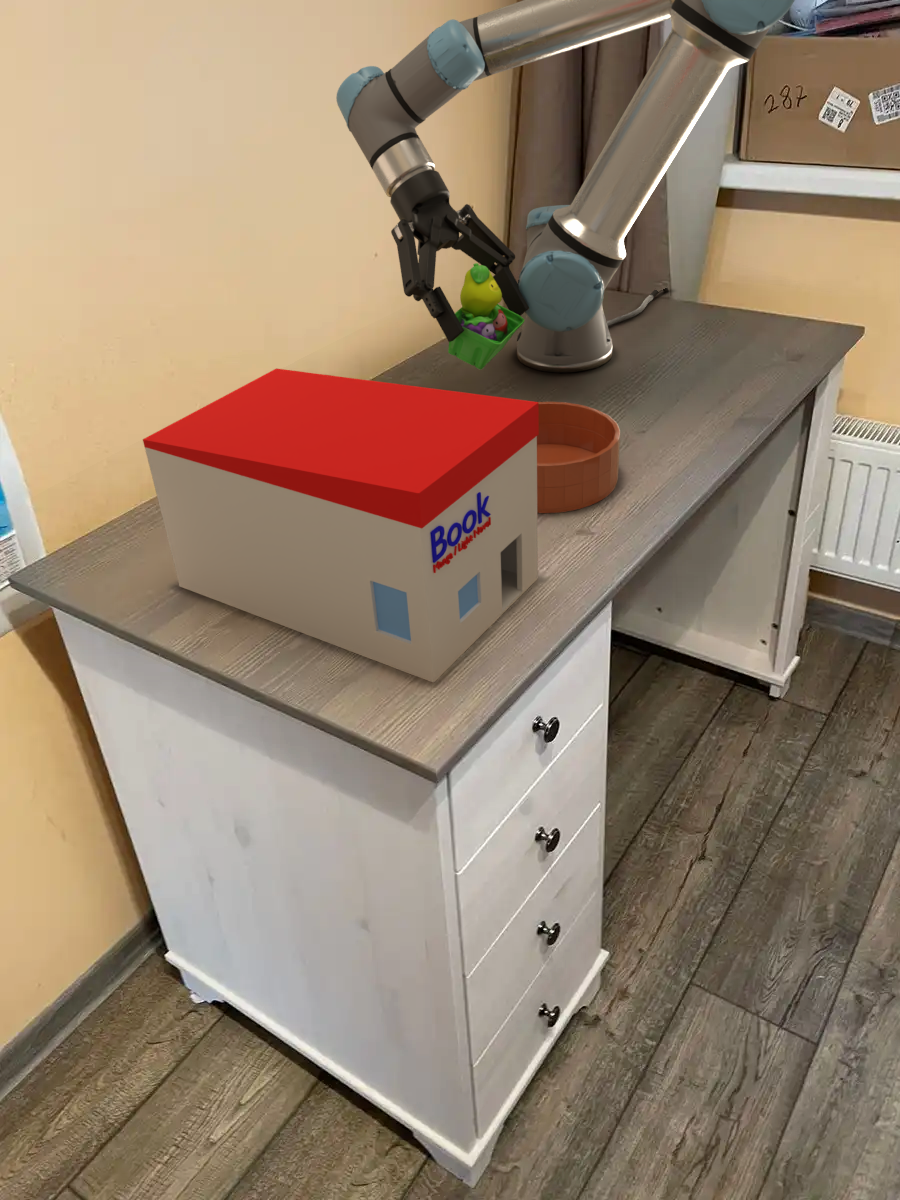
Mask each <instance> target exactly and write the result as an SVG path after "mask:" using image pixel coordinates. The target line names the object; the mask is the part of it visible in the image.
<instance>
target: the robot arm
mask: <svg viewBox="0 0 900 1200" xmlns="http://www.w3.org/2000/svg"><path fill="white" fill-rule="evenodd" d="M795 1H796V0H520V1H517V2H514V3H512V4H509V5H506V6H503V7H502V6H501V7H499V8H497V9H493V10H491V11H488V12H485V13H482V14H478V15H477V16H474V17H470V18H467V19H465V20H462V21H458V20H457V19H449V20H446V22H445V23H442V25H441V26H438V27H436V28H435V29H434V30H432V31H431V33H429V35H427V37H425V38H424V39H423V40H422V41H421V42H420V43H419V44H418V45H416V47H414V48H413V49H412V50H411V51H410V52H408V53H407V54H406V55H405V56H404V57H403V58H402V59H401V60H400V61H398V62H397V63H396V64H395V65H394V66H393V67H392V68H389V70H387V71H385V72H384V71H383V70H382V69H381V68H380V67H379V66H376V65H367V66H364V67H362V68H361V67H360V69H358V71H356V72H352V73H351V74H350V75H348V76H347V77H346V78H345V79H344V80H343V81H342V82H341V84H340V86H339V87H338V89H337V92H336V103H337V104H336V105H337V106H338V109H339V111H340V112H341V115H342V117H343V119H344V121H345V123H346V127H347V129H348V131H349V132H350V133H351V135H352V137H353V138H354V140H355V141H356V144H357V145H358V147H359V148H360V150H361V152H362V153H363V155H364V157H365V160H367V163H368V164H369V167H370V168H371V170H372V171H373V173H374V175H375V177H376V179H377V181H378V182H379V184H380V186H381V188H382V190H383V191H384V193H385V195H386V197H388V198H390V200H389V201H390V205H391V206H392V208H393V210H394V212H395V213H396V215H397V217H398V219H399V220H398V221H399V222H397V224H396V225H394V227H393V228H391V231H390V234H391V235H392V238H393V240H394V242H395V245H396V248H397V249H396V250H397V255H398V262H399V267H400V268H399V269H400V274H401V281H402V288H403V293H404V295H405V296H406V297H407V298H409V297H413V299H414V300H415V301H416V302H420V301H421V300H422V302H423V303H424V305H425V307H426V309H427V311H428V312H429V314H430V316H431V317H432V318H433V319H435V320H436V322H437V323H438V325H439V328H441V331H442V332H443V334H444V336H445V337H446V339H447V341H448V343H449V342H451V341H453V340H454V339H455V338H457V337H458V336H459V335H460V334H461V333H462V332H463V331H464V329H463V327H462V325H461V324H460V322H459V320H458V318H457V316H456V315H455V313H456V312H455V311H454V309H453V307H452V306H451V304H450V302H449V300H448V298H447V297H446V295H445V293H444V291H443V289H442V287H441V286H436V287H435V276H436V263H437V252H439V251H440V250H443V249H444V250H446V249H447V250H448V249H450V248H451V249H453V250H455V251H460V252H462V253H463V254H465V255H466V256H468V257H469V258H471V259H472V260H474V262H476V263H478V264H479V265H483V266H486V267H487V268H488V269H489V271H490V273H491V274H493V275H492V276H493V278H494V279H495V281H496V283H497V285H498V286H499V288H500V290H501V293H502V300H503V302H504V304H505V305H506V308H507V309H508V310H510V311H512V312H514V313H516V314H518V315H520V316H521V317H522V316H523V314H524V313H525V318H524V322H523V324H522V329H521V331H520V332H519V333H518V335H517V338H516V342H517V347H516V348H517V349H516V356H517V359H518V361H519V362H520V363H521V364H523V365H524V366H525V367H528V368H531V369H534V370H538V371H543V372H549V373H575V372H576V373H577V372H583V371H587V370H591V369H595V368H598V367H600V366H603V365H604V364H606V363H607V362H609V361H610V360H611V358H612V356H613V339H612V335H611V333H610V330H609V327H610V326H612V325H615V324H617V323H621V322H623V321H627V320H629V319H631V318H633V317H635V316H638V315H639V314H640V313H642V312H643V311H644V310H645V309H646V307H647V306H648V305H649V303H650V302H652V300H653V299H655V297H656V296H657V295H658V294H659V293H660V292H664V293H669V292H670V290H669V288H668V287H667V288H665V289H663V290H661V291H660V292H658V291H657V290H655V289H654V290H653V291H651V293H650V294H649V295H648V296H647V297H646V298H645V299H644V300H643V301H642V303H641V304H640V305H639V307H636V308H635V309H634V310H633V311H630V312H628V313H625V314H622V315H620V316H616V317H614V318H612V319H609V320H606V316H605V313H604V309H603V301H604V295H605V290H606V288H607V286H608V285H609V283H610V282H611V280H612V279H613V277H614V276H615V274H616V272H617V271H618V269H619V268H620V266H621V264H622V263H623V261H624V259H625V258H626V256H627V252H626V248H625V242H624V241H625V237H626V236H627V234H628V232H629V231H630V230H631V228H632V226H633V224H634V223H635V221H636V220H637V218H638V216H639V215H640V213H641V211H642V210H643V208H644V207H645V205H646V204H647V202H648V200H649V199H650V197H651V196H652V194H653V192H654V191H655V189H656V187H657V186H658V184H659V183H660V181H661V179H662V178H663V176H664V175H665V173H666V172H667V170H668V168H669V166H671V163H672V162H673V160H674V159H675V157H676V156H677V154H678V152H679V151H680V149H681V147H682V146H683V144H684V143H685V142H686V140H687V138H688V136H689V135H690V133H691V131H692V130H693V128H694V126H695V125H696V123H697V122H698V120H699V119H700V117H701V115H702V113H703V112H704V111H705V109H706V107H707V106H708V105H709V102H711V99H712V98H713V96H714V95H715V93H716V91H717V90H718V89H719V86H721V83H722V82H723V80H724V78H725V77H726V75H727V74H728V72H729V71H730V69H732V68H734V67H736V66H739V65H742V64H745V63H748V62H749V61H750V60H751V59H752V57H753V55H754V54H755V52H756V51H757V49H758V48H759V46H760V45H761V43H762V41H763V40H764V38H765V36H766V35H767V33H768V32H769V30H770V28H772V27H773V26H774V25H776V24H777V23H778V22H779V21H780V20H782V19H783V17H784V16H785V15H786V14H787V13H788V12H789V10H790V9H791V8H792V6H793V5H794V2H795ZM668 20H670V23H671V29H670V32H669V35H668V36H667V38H666V39H665V41H664V43H663V44H662V47H661V48H660V50H659V52H658V53H657V55H656V57H655V58H654V60H653V62H652V64H651V65H650V66H649V69H648V71H647V73H646V74H645V76H644V77H643V79H642V81H641V82H640V84H639V86H638V88H637V89H636V91H635V93H634V95H633V97H632V98H631V100H630V101H629V104H628V105H627V107H626V109H625V110H624V112H623V113H622V115H621V117H620V119H619V121H618V122H617V124H616V126H615V128H614V129H613V131H612V132H611V134H610V136H609V138H608V140H607V141H606V143H605V145H604V147H603V148H602V150H601V152H600V154H599V155H598V157H597V159H596V160H595V162H594V164H593V165H592V168H591V169H590V171H589V173H588V174H587V176H586V178H585V179H584V181H583V183H582V184H581V186H580V188H579V190H578V192H577V194H576V195H575V196H574V199H573V200H572V201H571V203H570V204H559V205H548V206H540V207H536V208H533V209H532V210H530V211H529V212H528V214H527V221H526V226H525V231H526V233H527V234H526V236H527V237H526V242H527V243H526V252H525V257H524V261H523V265H522V269H521V271H520V273H519V276H518V280H517V279H516V278H515V276H514V274H513V272H512V270H511V268H510V265H512V264H513V261H514V260H515V259H516V255H515V253H514V252H513V251H512V250H511V249H510V247H508V246H507V245H506V244H505V243H504V242H503V241H502V240H501V239H500V238H499V237H498V236H497V235H496V234H495V233H494V232H493V231H492V230H491V229H490V228H489V227H488V226H487V225H486V224H485V223H484V222H483V221H482V220H481V218H479V217H478V216H477V214H476V212H475V211H474V209H473V208H472V205H470V204H468V203H466V204H464V205H463V207H461V208H460V209H459V210H455V209H454V208H453V207H452V205H451V204H450V195H451V194H450V191H449V188H448V186H447V185H446V183H445V181H444V179H443V178H442V175H441V174H440V173H439V171H437V170H435V169H436V165H435V162H434V160H433V159H432V157H431V156H430V154H429V152H428V150H427V149H426V147H425V145H424V143H423V141H422V140H421V138H420V136H419V135H418V133H417V130H416V128H417V127H418V126H420V125H421V124H422V123H424V122H425V121H426V119H428V118H429V117H430V116H432V115H433V114H434V113H435V112H437V111H438V110H439V109H440V108H442V107H443V106H445V105H446V104H447V103H448V102H449V101H452V99H453V98H454V97H456V96H457V95H459V94H460V93H461V92H462V91H463V90H467V89H468V88H469V86H470V85H472V83H474V82H476V81H478V80H482V79H485V78H488V77H490V76H493V75H496V74H499V73H502V72H505V71H508V70H511V69H514V68H518V67H521V66H524V65H528V64H531V63H535V62H537V61H540V60H543V59H547V58H550V57H553V56H557V55H559V54H562V53H566V52H569V51H572V50H575V49H579V48H582V47H586V46H588V45H591V44H595V43H598V42H601V41H604V40H607V39H610V38H613V37H617V36H620V35H623V34H627V33H629V32H633V31H636V30H640V29H642V28H646V27H649V26H652V25H655V24H659V23H661V22H665V21H668ZM460 234H461V235H460ZM416 240H417V241H418V242H417V246H416ZM434 287H435V288H434Z"/></svg>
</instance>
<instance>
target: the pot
mask: <svg viewBox="0 0 900 1200" xmlns="http://www.w3.org/2000/svg"><path fill="white" fill-rule="evenodd" d="M538 402H539V435H537V514H555V513H565V512H566V513H567V512H572V511H575V510H576V511H577V510H580V509H584V508H587V507H589V506H592V505H595V504H597V503H599V502H600V501H602V500H604V499H605V498H607V497H609V496H610V494H611V493H612V492H613V491H614V490H615V489H616V486H617V484H618V479H619V471H620V469H619V468H620V446H621V445H620V444H621V430H620V427H619V425H618V423H617V422H616V420H614V419H613V418H612V417H611V416H610V415H609V414H607V413H605V412H603V411H601V410H599V409H596V408H593V407H590V406H586V405H584V404H578V403H572V402H565V401H538Z"/></svg>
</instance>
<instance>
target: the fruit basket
mask: <svg viewBox="0 0 900 1200" xmlns="http://www.w3.org/2000/svg"><path fill="white" fill-rule="evenodd" d="M493 276H494V275H493V273H492V272H491V271H489V269H488V268H487V267H486V266H483V265H481V264H479V263H478V262H476V263H473V266H472V267H471V268H470V269H469V270H467V271H466V272H465V275H464V282H463V285H462V287H461V289H460V290H461V291H460V297H459V298H460V300H459V301H460V305H461V307H460V308H459V309H458V310H457V311H455V312H454V313H455V315H456V316H457V318H458V320H459V322H460V324H461V325H462V327H463V329H464V331H463V332H462V333H461V334H460V335H459V336H458V337H457V338H455V339H454V340H453V341H451V342H449V341H448V348H447V349H448V350H447V353H448V354H449V355H451V356H454V357H456V358H457V359H459V360H461V361H462V362H464V363H467V364H468V365H471V366H473V367H475V368H476V369H477V370H483V369H484V368H485V367H486V366H487V364H489V363H490V362H491V361H492V360H493V358H495V357H496V356H497V355H498V353H500V352H501V351H502V350H503V348H505V346H506V345H507V343H508V342H509V341H510V339H511V338H512V337H513V335H514V334H515V332H516V331H518V330H519V329H520V328H521V326H523V324H524V321H525V318H524V317H523V316H522V315H521V316H520V315H518V314H516V313H514V312H512V311H510V310H509V309H508V308H507V307H505V306H503V305H500V303H501V302H502V300H503V298H502V293H501V290H500V288H499V286H498V285H497V283H496V281H495V279H494V278H493Z"/></svg>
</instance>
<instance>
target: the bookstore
mask: <svg viewBox="0 0 900 1200" xmlns="http://www.w3.org/2000/svg"><path fill="white" fill-rule="evenodd" d="M539 402H540V401H532V400H524V399H517V398H509V397H502V396H493V395H487V394H486V395H485V394H480V393H479V394H478V393H469V392H464V391H463V392H462V391H454V390H447V389H439V388H431V387H430V388H429V387H423V386H415V385H410V384H409V385H408V384H400V383H393V382H384V381H376V380H370V379H362V378H354V377H346V376H337V375H330V374H322V373H316V372H307V371H299V370H292V369H291V370H290V369H283V368H274V369H273V370H271V371H269V372H267V373H265V374H263V375H261V376H259V377H257V378H256V379H254V380H252V381H250V382H248V383H246V384H244V385H242V386H240V387H238V388H236V389H234V390H233V391H231V392H229V393H227V394H225V395H223V396H222V397H219V398H218V399H216V400H214V401H212V402H210V403H207V404H206V405H204V406H202V407H201V408H199V409H196V410H195V411H193V412H191V413H189V414H188V415H185V416H184V417H182V418H180V419H179V420H176V421H175V422H173V423H171V424H168V425H167V426H165V427H163V428H161V429H160V430H157V431H156V432H153V433H152V434H150V435H148V436H146V437H144V438H143V439H142V443H143V446H144V451H145V455H146V458H147V462H148V466H149V470H150V473H151V477H152V482H153V486H154V490H155V494H156V498H157V502H158V504H159V505H158V506H159V510H160V513H161V518H162V522H163V526H164V530H165V534H166V537H167V541H168V545H169V546H168V547H169V550H170V554H171V558H172V562H173V567H174V570H175V574H176V577H177V582H178V586H179V587H180V588H182V589H185V590H188V591H190V592H193V593H196V594H198V595H201V596H203V597H205V598H208V599H212V600H214V601H217V602H219V603H221V604H225V605H227V606H230V607H233V608H236V609H238V610H240V611H242V612H246V613H248V614H250V615H254V616H257V617H259V618H261V619H265V620H267V621H270V622H272V623H276V624H278V625H280V626H282V627H286V628H287V629H291V630H294V631H295V632H298V633H302V634H303V635H306V636H309V637H312V638H315V639H317V640H320V641H322V642H325V643H328V644H330V645H333V646H336V647H338V648H341V649H344V650H346V651H349V652H352V653H354V654H357V655H359V656H362V657H365V658H367V659H370V660H373V661H375V662H378V663H380V664H383V665H385V666H388V667H391V668H393V669H395V670H396V669H397V670H398V671H402V672H404V673H407V674H410V675H412V676H415V677H417V678H419V679H422V680H426V681H428V682H430V683H435V682H436V681H437V680H438V679H439V678H440V677H441V676H442V675H443V674H444V673H445V672H446V671H447V670H448V669H449V668H450V667H451V666H452V665H453V664H455V662H456V661H458V659H459V658H460V657H461V656H462V655H464V653H465V652H466V651H468V649H469V648H470V647H471V646H472V645H473V644H474V643H475V642H476V641H477V640H478V639H480V637H481V636H482V635H483V634H484V633H485V632H487V630H489V628H490V627H491V626H492V625H494V623H495V622H496V621H497V620H498V619H499V618H500V617H501V616H502V615H503V614H504V613H505V612H507V610H509V608H510V607H511V606H512V605H513V604H514V603H515V602H516V601H517V600H518V599H519V598H520V597H521V596H522V595H523V594H525V592H526V591H527V590H528V589H529V588H530V587H531V586H532V585H533V584H534V583H535V582H536V581H537V580H539V571H538V569H539V564H538V563H539V562H538V561H539V559H538V557H539V556H538V555H539V553H538V551H539V550H538V549H539V548H538V513H537V435H539Z"/></svg>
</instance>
